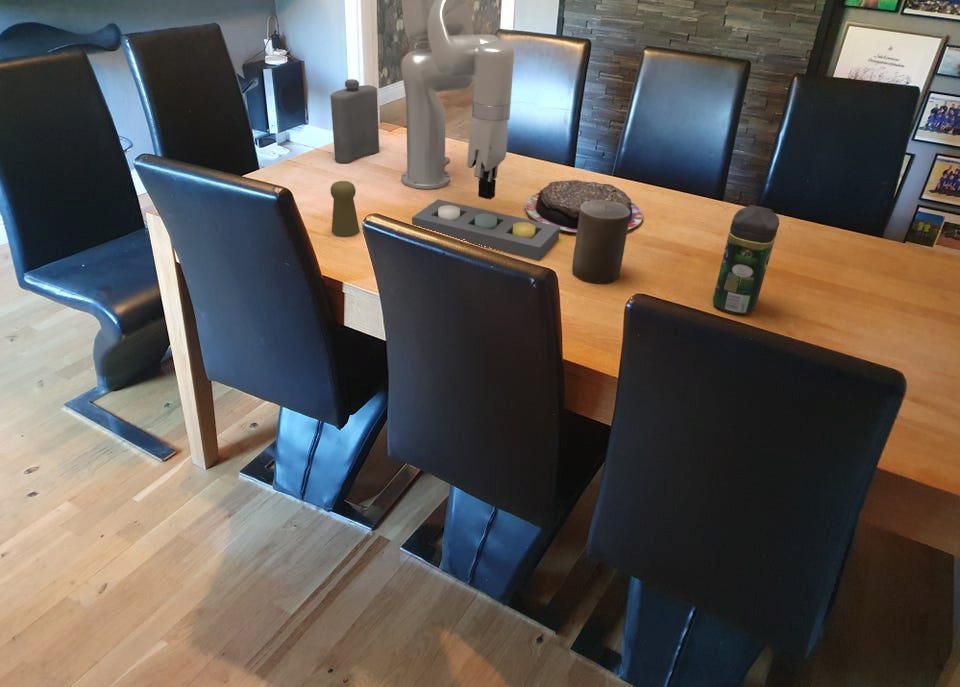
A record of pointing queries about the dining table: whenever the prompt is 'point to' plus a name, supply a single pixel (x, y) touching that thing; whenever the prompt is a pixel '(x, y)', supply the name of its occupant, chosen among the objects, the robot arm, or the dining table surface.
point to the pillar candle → (600, 241)
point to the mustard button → (524, 229)
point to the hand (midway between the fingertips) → (486, 196)
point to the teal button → (486, 221)
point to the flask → (355, 122)
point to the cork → (344, 210)
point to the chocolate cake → (575, 203)
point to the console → (489, 230)
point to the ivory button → (449, 212)
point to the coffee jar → (745, 259)
